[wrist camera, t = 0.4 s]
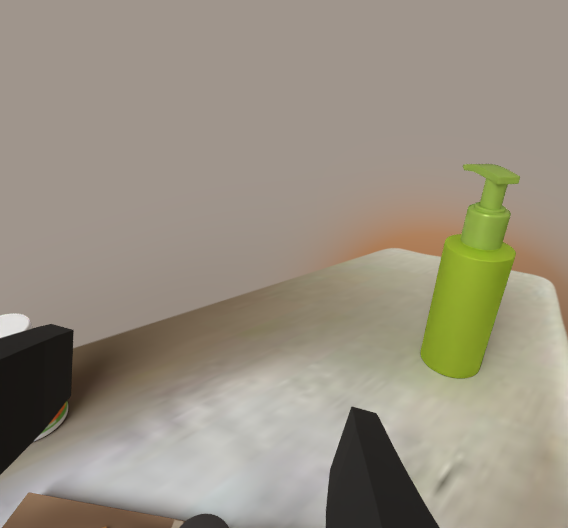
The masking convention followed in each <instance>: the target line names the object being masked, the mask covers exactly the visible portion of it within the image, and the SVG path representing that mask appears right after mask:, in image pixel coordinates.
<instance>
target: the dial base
mask: <svg viewBox="0 0 568 528" xmlns="http://www.w3.org/2000/svg"><path fill="white" fill-rule="evenodd" d="M184 522H185V521H183V520H177V519H172V518H166V517H161V516H155V515H150V514H144V513H139V512H133V511H128V510H122V509H117V508H111V507H106V506H100V505H95V504H89V503H84V502H78V501H73V500H67V499H62V498H56V497H51V496H45V495H40V494H34V493H28V494H27V495H26V497H25V498H24V499H23V501H22V502H21V503H20V505H19V506H18V507H17V509H16V510H15V511H14V512H13V514H12V515H11V516H10V518H9V519H8V520H7V522H6V523H5V524H4V526H3V527H2V528H179V527H180V526H181V525H182V524H183V523H184Z"/></svg>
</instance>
